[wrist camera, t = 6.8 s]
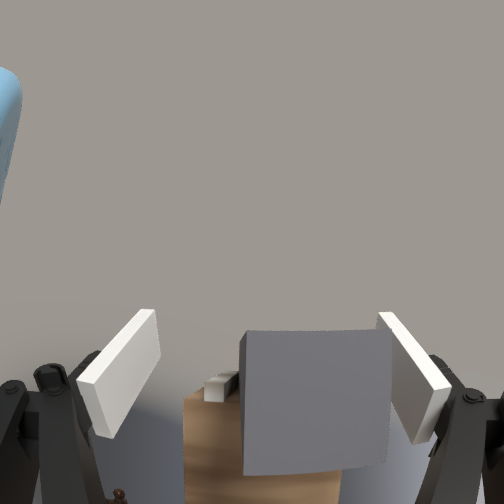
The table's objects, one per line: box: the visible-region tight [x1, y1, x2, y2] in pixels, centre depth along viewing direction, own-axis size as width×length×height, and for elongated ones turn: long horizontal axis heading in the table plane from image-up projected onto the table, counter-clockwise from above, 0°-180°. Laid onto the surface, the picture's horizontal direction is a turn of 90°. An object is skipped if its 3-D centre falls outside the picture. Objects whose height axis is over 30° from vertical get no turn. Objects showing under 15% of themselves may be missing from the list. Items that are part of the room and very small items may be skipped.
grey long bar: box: [239, 328, 392, 476], centre depth 21 cm, size 28×4×4 cm, turn 3°
